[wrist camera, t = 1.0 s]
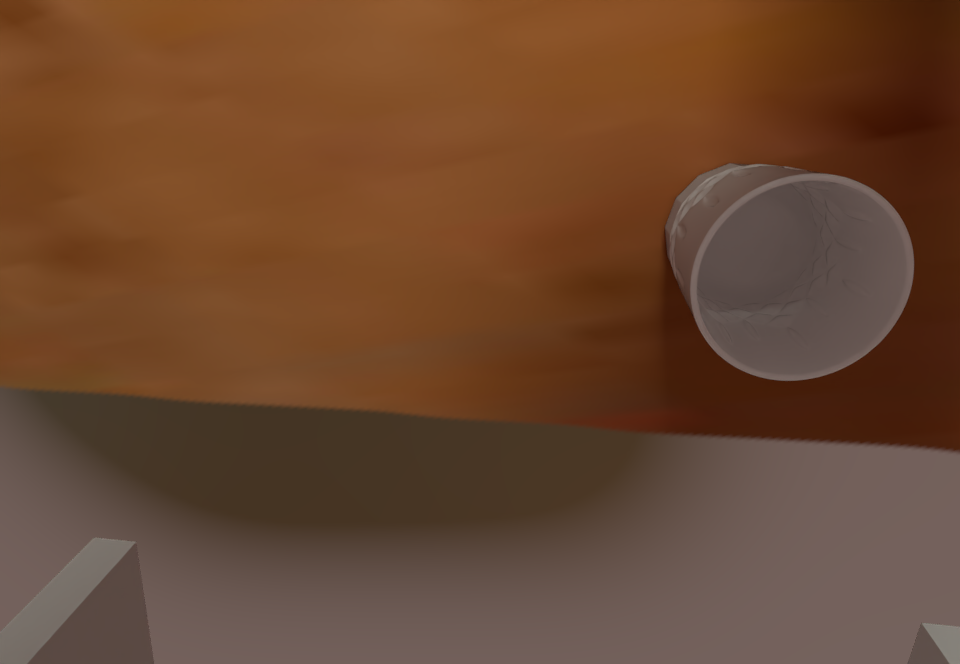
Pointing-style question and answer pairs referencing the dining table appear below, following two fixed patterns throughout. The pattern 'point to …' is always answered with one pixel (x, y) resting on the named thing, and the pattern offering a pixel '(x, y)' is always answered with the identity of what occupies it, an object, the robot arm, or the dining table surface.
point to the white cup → (789, 267)
